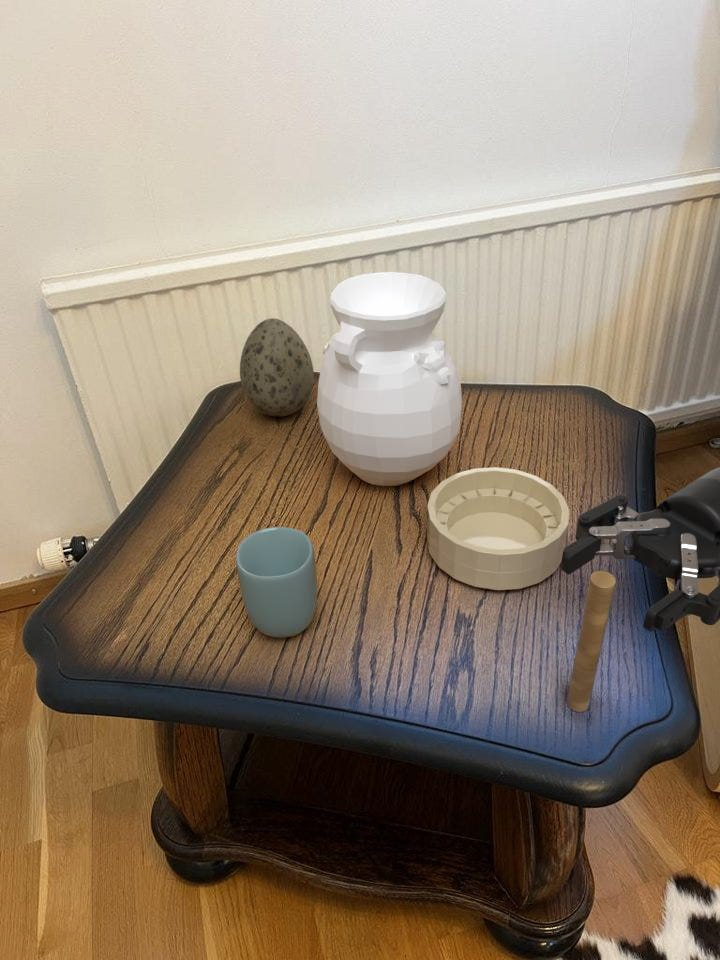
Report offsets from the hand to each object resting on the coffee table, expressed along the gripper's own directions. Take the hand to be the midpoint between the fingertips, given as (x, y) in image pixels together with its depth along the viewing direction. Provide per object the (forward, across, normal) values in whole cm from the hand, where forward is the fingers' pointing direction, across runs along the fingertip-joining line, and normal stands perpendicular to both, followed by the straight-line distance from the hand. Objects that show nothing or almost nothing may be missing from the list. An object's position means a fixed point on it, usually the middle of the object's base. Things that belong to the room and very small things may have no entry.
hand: (604, 592), depth 63 cm
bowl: (-9, -20, +14) cm, 26 cm away
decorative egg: (-6, -63, +14) cm, 65 cm away
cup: (+17, -26, +14) cm, 34 cm away
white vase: (-10, -41, +14) cm, 45 cm away
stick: (+1, 0, +14) cm, 14 cm away
